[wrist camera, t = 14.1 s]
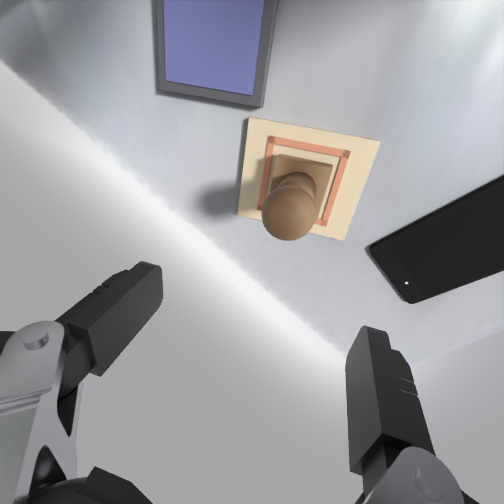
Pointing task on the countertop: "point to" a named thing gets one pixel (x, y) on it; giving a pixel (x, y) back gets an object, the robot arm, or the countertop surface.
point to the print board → (312, 148)
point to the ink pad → (216, 48)
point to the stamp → (295, 196)
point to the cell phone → (447, 246)
